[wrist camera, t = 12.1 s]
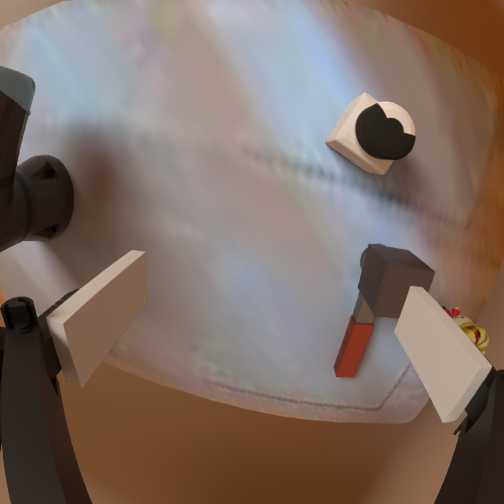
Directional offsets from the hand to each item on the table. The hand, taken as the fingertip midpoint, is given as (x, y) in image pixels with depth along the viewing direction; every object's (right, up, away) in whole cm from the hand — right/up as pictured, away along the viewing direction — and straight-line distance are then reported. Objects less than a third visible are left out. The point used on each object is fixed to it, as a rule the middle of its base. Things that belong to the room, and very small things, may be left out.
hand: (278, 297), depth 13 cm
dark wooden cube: (+17, 0, +24) cm, 29 cm away
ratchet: (+16, -8, +30) cm, 35 cm away
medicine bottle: (+13, +18, +22) cm, 31 cm away
